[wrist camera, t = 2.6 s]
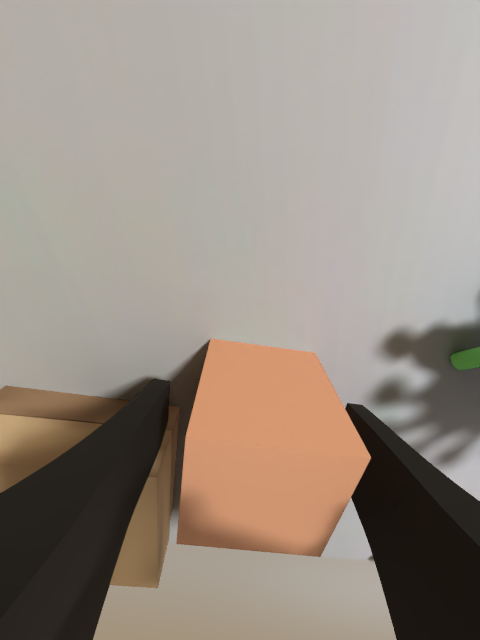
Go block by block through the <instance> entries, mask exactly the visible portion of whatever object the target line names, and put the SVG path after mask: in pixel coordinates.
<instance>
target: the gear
mask: <svg viewBox="0 0 480 640" xmlns="http://www.w3.org/2000/svg"><path fill="white" fill-rule="evenodd" d="M450 359H451V363H452V365H453V366H454V367H455V368H457V369H458V370H466V369H472V368H477V367H480V347H476V348H473V349H469V350H465V351H461V352H457V353H454V354H452V355H451V357H450Z"/></svg>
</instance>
